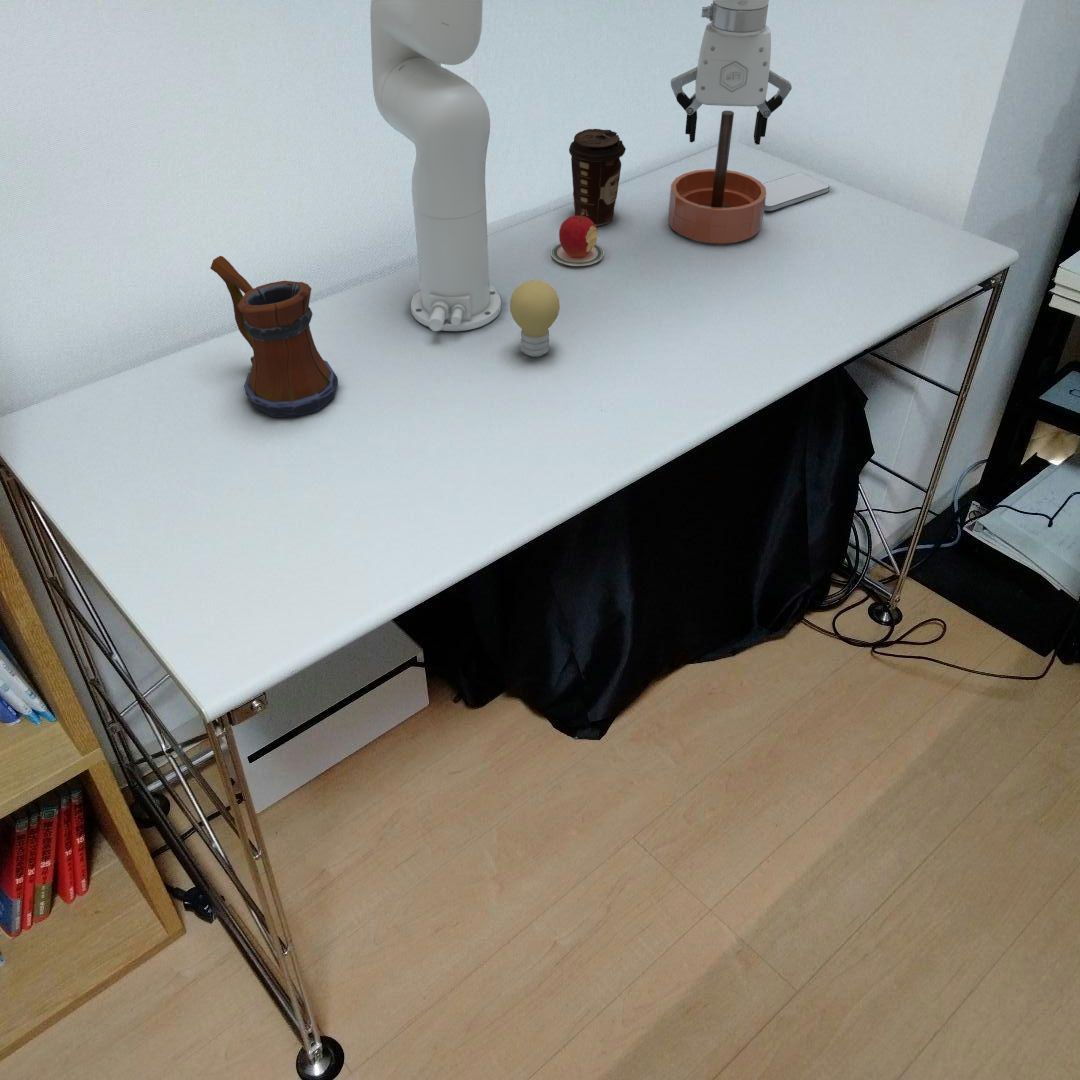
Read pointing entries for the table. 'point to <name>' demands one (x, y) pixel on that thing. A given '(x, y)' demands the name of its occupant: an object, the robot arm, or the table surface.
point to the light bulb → (534, 314)
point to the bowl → (716, 221)
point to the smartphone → (792, 190)
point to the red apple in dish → (577, 242)
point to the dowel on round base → (722, 161)
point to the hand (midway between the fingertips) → (724, 139)
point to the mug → (279, 345)
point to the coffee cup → (596, 173)
